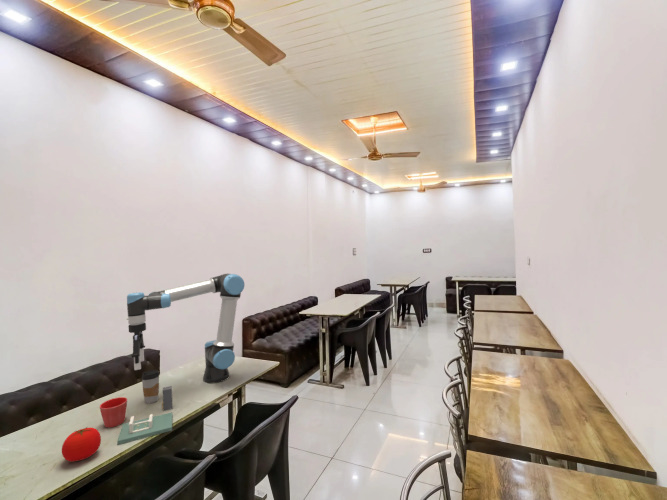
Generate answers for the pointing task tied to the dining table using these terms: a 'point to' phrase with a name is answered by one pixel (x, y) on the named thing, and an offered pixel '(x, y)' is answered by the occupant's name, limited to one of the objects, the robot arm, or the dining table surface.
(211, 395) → the dining table surface
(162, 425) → the board
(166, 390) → the plug
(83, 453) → the tomato
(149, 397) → the coffee cup
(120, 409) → the flower pot
